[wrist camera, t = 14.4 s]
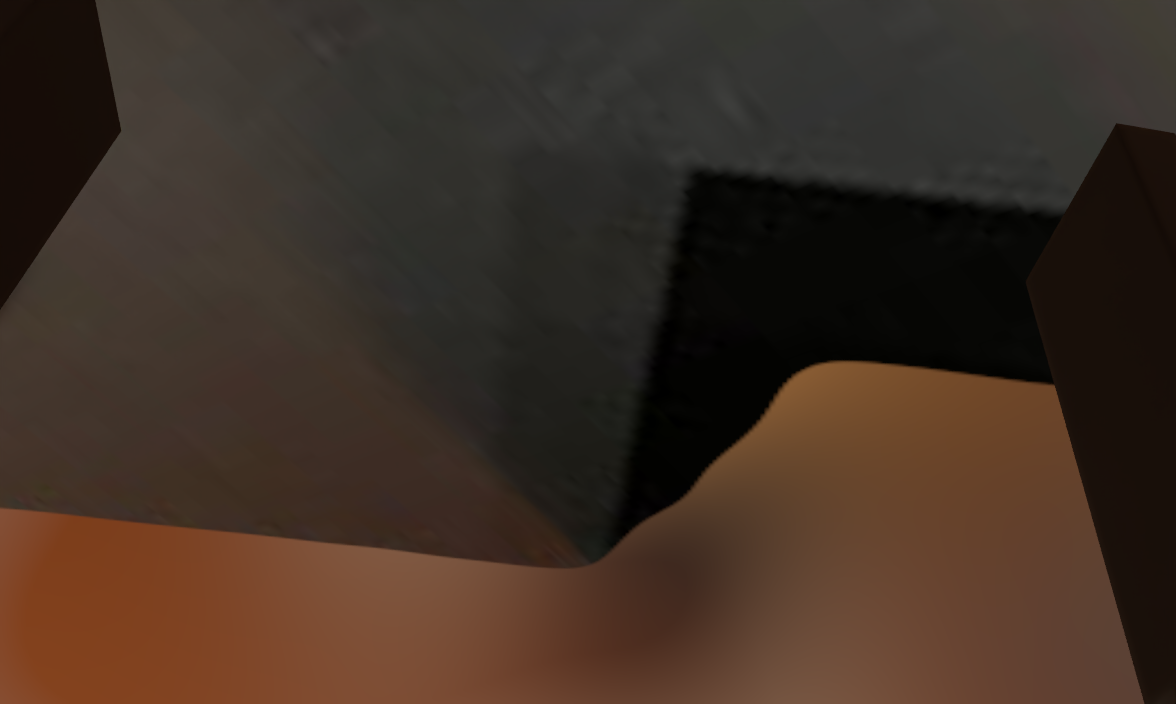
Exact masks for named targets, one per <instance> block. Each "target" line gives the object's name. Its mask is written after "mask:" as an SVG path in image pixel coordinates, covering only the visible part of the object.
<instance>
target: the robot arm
mask: <svg viewBox="0 0 1176 704" xmlns="http://www.w3.org/2000/svg"><path fill="white" fill-rule="evenodd" d="M120 132H121V127H120V122H119V117H118V112H117V107H116V102H115V97H114V92H113V87H112V82H111V77H110V72H109V67H108V62H107V57H106V52H105V47H104V42H103V37H102V32H101V27H100V22H99V17H98V12H97V7H96V2H95V0H0V309H1V308H2V306H3V305H4V303H5V302H6V300H7V299H8V297H9V296H10V294H11V293H12V291H13V290H14V288H15V287H16V286H17V284H18V283H19V281H20V280H21V278H22V277H23V275H24V274H25V272H26V271H27V269H28V268H29V266H30V265H31V263H32V262H33V260H34V259H35V257H36V256H37V255H38V253H39V252H40V250H41V249H42V247H43V246H44V244H45V243H46V241H47V240H48V238H49V237H50V235H51V234H52V232H53V231H54V229H55V228H56V226H57V225H58V224H59V222H60V221H61V219H62V218H63V216H64V215H65V213H66V212H67V210H68V209H69V207H70V206H71V204H72V203H73V201H74V200H75V198H76V197H77V196H78V194H79V193H80V191H81V190H82V188H83V187H84V185H85V184H86V182H87V181H88V179H89V178H90V176H91V175H92V173H93V172H94V170H95V169H96V167H97V166H98V165H99V163H100V162H101V160H102V159H103V157H104V156H105V154H106V153H107V151H108V150H109V148H110V147H111V145H112V144H113V142H114V141H115V139H116V138H117V136H118V135H119V134H120ZM1026 285H1027V288H1028V292H1029V295H1030V299H1031V303H1032V306H1033V310H1034V313H1035V317H1036V320H1037V324H1038V327H1039V331H1040V335H1041V338H1042V342H1043V345H1044V349H1045V352H1046V356H1047V359H1048V363H1049V366H1050V370H1051V374H1052V377H1053V381H1054V384H1055V388H1056V391H1057V395H1058V398H1059V402H1060V405H1061V408H1062V413H1063V416H1064V419H1065V423H1066V427H1067V430H1068V434H1069V437H1070V441H1071V444H1072V448H1073V452H1074V455H1075V459H1076V462H1077V466H1078V469H1079V473H1080V476H1081V480H1082V483H1083V487H1084V491H1085V494H1086V497H1087V501H1088V505H1089V508H1090V511H1091V515H1092V519H1093V522H1094V526H1095V529H1096V533H1097V537H1098V540H1099V544H1100V547H1101V551H1102V554H1103V558H1104V562H1105V565H1106V569H1107V572H1108V575H1109V579H1110V583H1111V586H1112V590H1113V593H1114V597H1115V600H1116V604H1117V608H1118V611H1119V614H1120V618H1121V622H1122V625H1123V629H1124V632H1125V636H1126V639H1127V643H1128V647H1129V650H1130V654H1131V657H1132V661H1133V664H1134V667H1135V671H1136V675H1137V679H1138V682H1139V686H1140V689H1141V693H1142V696H1143V700H1144V703H1145V704H1176V135H1175V133H1170V132H1164V131H1158V130H1152V129H1146V128H1141V127H1135V126H1129V125H1123V124H1117V123H1116V125H1115V127H1114V129H1113V130H1112V132H1111V134H1110V136H1109V137H1108V139H1107V141H1106V143H1105V144H1104V146H1103V148H1102V149H1101V151H1100V153H1099V155H1098V156H1097V158H1096V160H1095V162H1094V163H1093V165H1092V167H1091V169H1090V170H1089V172H1088V174H1087V176H1086V177H1085V179H1084V181H1083V183H1082V184H1081V186H1080V188H1079V190H1078V191H1077V193H1076V195H1075V196H1074V198H1073V200H1072V202H1071V203H1070V205H1069V207H1068V209H1067V210H1066V212H1065V214H1064V216H1063V217H1062V219H1061V221H1060V223H1059V224H1058V226H1057V228H1056V230H1055V231H1054V233H1053V235H1052V237H1051V238H1050V240H1049V242H1048V244H1047V245H1046V247H1045V249H1044V250H1043V252H1042V254H1041V256H1040V257H1039V259H1038V261H1037V263H1036V264H1035V266H1034V268H1033V270H1032V271H1031V273H1030V275H1029V277H1028V278H1027V280H1026Z"/></svg>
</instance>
